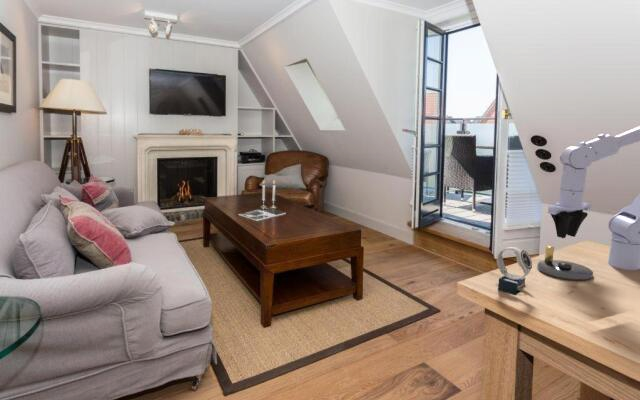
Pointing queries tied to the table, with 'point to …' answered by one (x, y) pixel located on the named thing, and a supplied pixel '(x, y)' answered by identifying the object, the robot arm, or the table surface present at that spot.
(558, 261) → the handwheel
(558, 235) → the robot arm
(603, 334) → the table surface
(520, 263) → the watch
